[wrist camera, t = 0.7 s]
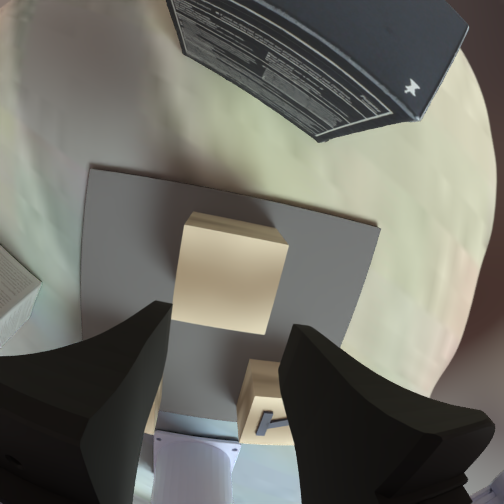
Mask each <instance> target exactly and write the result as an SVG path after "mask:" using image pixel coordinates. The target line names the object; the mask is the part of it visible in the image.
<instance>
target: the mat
mask: <svg viewBox="0 0 504 504" xmlns="http://www.w3.org/2000/svg"><path fill="white" fill-rule="evenodd" d="M193 211H194V212H199V213H204V214H209V215H214V216H219V217H225V218H230V219H235V220H240V221H244V222H249V223H254V224H259V225H264V226H269V227H274V228H276V229H277V230H278V232H279V233H280V234H281V235H282V237H283V238H284V239H285V241H286V242H287V243H288V245H289V247H288V251H287V255H286V259H285V262H284V266H283V270H282V274H281V278H280V281H279V285H278V289H277V292H276V296H275V300H274V303H273V307H272V310H271V314H270V318H269V321H268V325H267V328H266V332H265V335H262V334H255V333H248V332H241V331H235V330H228V329H222V328H216V327H210V326H204V325H199V324H193V323H188V322H183V321H177V320H172V319H171V324H170V333H169V342H168V352H167V357H166V362H165V367H164V371H163V382H162V396H161V403H160V407H159V410H160V411H165V412H170V413H175V414H181V415H187V416H193V417H200V418H207V419H215V420H223V421H232V422H237V410H236V405H237V402H238V398H239V395H240V391H241V388H242V384H243V381H244V377H245V374H246V370H247V366H248V363H249V359H255V360H263V361H272V362H281V359H282V356H283V353H284V350H285V347H286V344H287V341H288V338H289V335H290V332H291V329H292V326H293V324H301V325H308V326H311V327H313V328H314V329H316V330H317V331H319V332H320V333H321V334H323V335H324V336H325V337H327V338H328V339H329V340H330V341H332V342H333V343H334V344H335V345H337V346H338V347H339V348H340V346H341V344H342V341H343V339H344V336H345V334H346V331H347V329H348V326H349V323H350V321H351V318H352V315H353V313H354V310H355V307H356V305H357V302H358V299H359V296H360V293H361V290H362V288H363V285H364V282H365V279H366V276H367V273H368V270H369V267H370V263H371V260H372V257H373V254H374V251H375V247H376V244H377V241H378V237H379V234H380V230H381V228H379V227H375V226H371V225H368V224H364V223H360V222H356V221H353V220H349V219H345V218H341V217H337V216H333V215H329V214H325V213H321V212H317V211H313V210H309V209H304V208H300V207H296V206H292V205H287V204H283V203H279V202H274V201H270V200H265V199H260V198H256V197H251V196H246V195H242V194H237V193H232V192H227V191H222V190H217V189H212V188H207V187H201V186H196V185H191V184H185V183H180V182H174V181H168V180H163V179H157V178H151V177H145V176H139V175H132V174H126V173H119V172H113V171H106V170H99V169H90V173H89V180H88V187H87V195H86V204H85V213H84V224H83V238H82V257H81V320H82V338H83V341H84V340H87V339H89V338H92V337H94V336H96V335H99V334H101V333H103V332H105V331H107V330H109V329H111V328H112V327H114V326H116V325H118V324H120V323H121V322H123V321H125V320H126V319H128V318H129V317H131V316H133V315H134V314H136V313H137V312H139V311H140V310H141V309H143V308H144V307H146V306H147V305H149V304H150V303H152V302H153V301H155V300H157V301H162V302H167V303H173V295H174V288H175V281H176V274H177V267H178V260H179V254H180V248H181V242H182V236H183V230H184V224H185V223H186V221H187V220H188V218H189V217H190V215H191V214H192V212H193Z"/></svg>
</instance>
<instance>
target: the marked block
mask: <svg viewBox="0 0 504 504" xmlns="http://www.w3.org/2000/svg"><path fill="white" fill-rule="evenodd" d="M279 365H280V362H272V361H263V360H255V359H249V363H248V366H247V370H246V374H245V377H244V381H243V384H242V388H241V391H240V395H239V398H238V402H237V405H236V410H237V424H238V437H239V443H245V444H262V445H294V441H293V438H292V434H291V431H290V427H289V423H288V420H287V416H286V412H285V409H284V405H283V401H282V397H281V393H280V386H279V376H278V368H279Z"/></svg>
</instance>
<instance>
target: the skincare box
mask: <svg viewBox="0 0 504 504" xmlns="http://www.w3.org/2000/svg"><path fill="white" fill-rule="evenodd" d="M41 285H42V282H41V281H39V280H38V279H37V278H36V277H35V276H33V275H32V274H31V273H30V272H29V271H28V270H27V269H25V268H24V267H23V266H22V265H21V264H20V263H19V262H18V261H17V260H16V259H14V258H13V257H12V256H11V255H10V254H9V253H8V252H7V251H6V250H5V249H4V248H3V247H2V246H1V245H0V348H1V347H2V346H3V345H4V344H5V343H6V342H7V341H8V340H9V339H10V337H11V336H12V335H13V334H14V333H15V332H16V331H17V330H18V329H19V328H20V327H21V326H22V325H23V324H24V323H25V322H26V321H27V320H28V319H29V317H30V315H31V312H32V309H33V306H34V303H35V300H36V298H37V295H38V293H39V290H40V288H41Z"/></svg>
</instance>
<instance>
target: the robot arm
mask: <svg viewBox="0 0 504 504" xmlns="http://www.w3.org/2000/svg"><path fill="white" fill-rule="evenodd" d="M172 308H173V304H172V303H167V302H162V301H157V300H155V301H153V302H152V303H150V304H149V305H147V306H146V307H144V308H143V309H141V310H140V311H139V312H137V313H136V314H134V315H133V316H131V317H129V318H128V319H126V320H125V321H123V322H121V323H120V324H118V325H116V326H114V327H112V328H111V329H109V330H107V331H105V332H103V333H101V334H99V335H96V336H94V337H92V338H89V339H87V340H84V341H81V342H79V343H75V344H72V345H68V346H65V347H61V348H58V349H54V350H50V351H45V352H40V353H34V354H27V355H18V356H0V504H132V502H133V494H134V486H135V479H136V473H137V467H138V461H139V455H140V449H141V444H142V439H143V434H144V431H145V427H146V424H147V421H148V418H149V415H150V412H151V409H152V406H153V403H154V400H155V397H156V394H157V391H158V388H159V385H160V382H161V379H162V376H163V371H164V367H165V362H166V357H167V352H168V342H169V333H170V324H171V316H172ZM278 376H279V386H280V393H281V397H282V401H283V405H284V409H285V412H286V416H287V420H288V423H289V427H290V431H291V434H292V438H293V441H294V446H295V450H296V456H297V464H298V471H299V479H300V489H301V500H302V504H504V470H503V471H502V472H501V473H500V474H499V475H498V476H497V477H496V478H495V479H494V480H493V481H492V482H491V483H490V485H488V486H487V487H485V488H483V489H481V490H479V491H478V492H476V493H474V494H472V495H470V496H469V495H468V493H467V491H466V490H465V488H464V487H463V485H464V484H466V483H467V482H468V478H467V477H466V475H465V474H464V472H465V471H466V470H467V469H468V467H470V465H471V464H472V463H473V462H474V461H475V460H476V459H477V458H478V457H479V456H480V454H481V453H482V452H483V451H484V450H485V448H486V447H487V445H488V444H489V443H490V441H491V439H492V438H493V435H494V432H495V424H494V423H493V422H492V421H491V419H490V418H489V417H488V416H487V415H486V414H485V413H484V412H483V411H481V410H476V409H470V408H465V407H460V406H454V405H450V404H447V403H443V402H440V401H437V400H433V399H430V398H427V397H425V396H422V395H419V394H417V393H414V392H412V391H410V390H407V389H405V388H403V387H401V386H399V385H397V384H395V383H393V382H391V381H389V380H387V379H385V378H384V377H382V376H380V375H378V374H377V373H375V372H373V371H372V370H370V369H369V368H367V367H366V366H364V365H363V364H361V363H360V362H358V361H357V360H355V359H354V358H353V357H351V356H350V355H349V354H347V353H346V352H345V351H343V350H342V349H341V348H339V347H338V346H337V345H335V344H334V343H333V342H332V341H330V340H329V339H328V338H327V337H325V336H324V335H323V334H321V333H320V332H319V331H317V330H316V329H314V328H313V327H311V326H308V325H301V324H293V326H292V329H291V332H290V335H289V338H288V341H287V344H286V347H285V350H284V353H283V356H282V359H281V362H280V365H279V368H278ZM240 449H241V443H239V442H238V441H230V440H220V439H211V438H203V437H196V436H189V435H183V434H177V433H171V432H166V431H161V430H156V431H155V432H154V481H153V488H152V495H151V502H150V504H233V490H232V470H233V468H234V465H235V462H236V460H237V457H238V454H239V452H240Z"/></svg>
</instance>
